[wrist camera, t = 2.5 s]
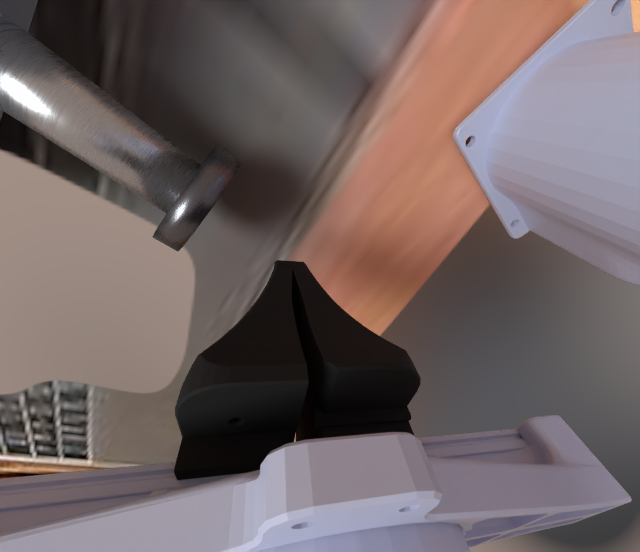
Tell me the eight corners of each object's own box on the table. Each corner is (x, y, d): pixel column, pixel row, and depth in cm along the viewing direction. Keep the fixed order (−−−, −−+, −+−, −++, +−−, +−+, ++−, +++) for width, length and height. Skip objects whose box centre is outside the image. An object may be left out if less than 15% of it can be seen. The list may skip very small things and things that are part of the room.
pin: (245, 153, 12) (232, 181, 8) (194, 222, 14) (164, 271, 10) (-13, -72, 8) (-284, -224, 4) (-44, 69, 9) (-258, 55, 5)
